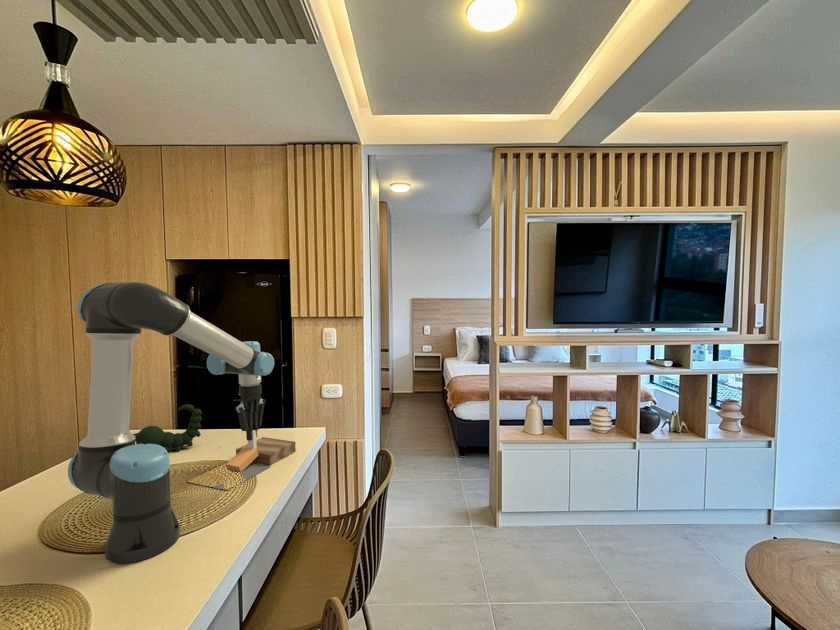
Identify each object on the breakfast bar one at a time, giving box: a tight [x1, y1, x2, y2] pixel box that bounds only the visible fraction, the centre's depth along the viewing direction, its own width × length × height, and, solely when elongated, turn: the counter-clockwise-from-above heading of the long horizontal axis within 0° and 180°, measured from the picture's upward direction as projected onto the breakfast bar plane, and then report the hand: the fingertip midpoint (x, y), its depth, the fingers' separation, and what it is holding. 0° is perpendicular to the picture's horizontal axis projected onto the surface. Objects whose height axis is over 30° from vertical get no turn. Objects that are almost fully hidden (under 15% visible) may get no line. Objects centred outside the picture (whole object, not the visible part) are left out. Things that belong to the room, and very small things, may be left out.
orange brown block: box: [226, 447, 259, 472], centre depth 144 cm, size 9×6×2 cm, turn 159°
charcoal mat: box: [209, 460, 271, 491], centre depth 139 cm, size 19×18×1 cm
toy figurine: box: [132, 403, 203, 452], centre depth 161 cm, size 9×19×25 cm
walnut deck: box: [235, 436, 297, 467], centre depth 155 cm, size 14×16×4 cm
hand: (252, 447), depth 149 cm, fingers closed
